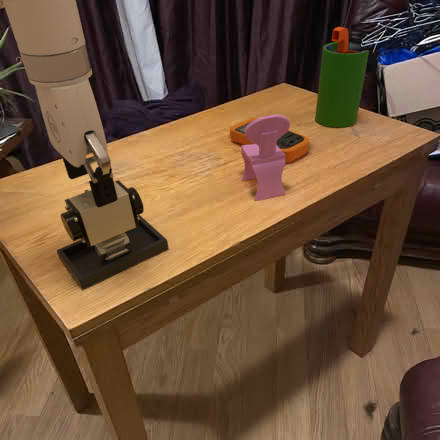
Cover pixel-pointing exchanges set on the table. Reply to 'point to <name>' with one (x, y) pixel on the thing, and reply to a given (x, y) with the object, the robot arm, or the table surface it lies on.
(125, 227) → the pneumatic valve
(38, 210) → the table surface
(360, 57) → the green cylindrical container
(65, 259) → the black tray
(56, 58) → the robot arm
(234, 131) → the multimeter
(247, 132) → the toy chair
